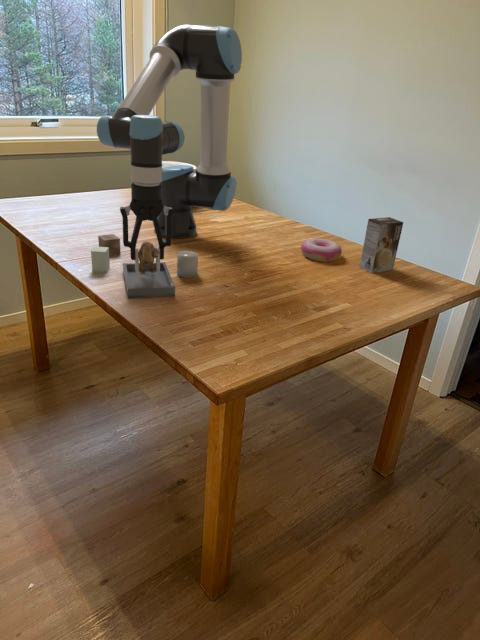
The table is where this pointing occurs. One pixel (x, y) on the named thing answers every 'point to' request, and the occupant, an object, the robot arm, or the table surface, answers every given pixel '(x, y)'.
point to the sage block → (100, 259)
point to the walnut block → (110, 243)
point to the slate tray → (148, 281)
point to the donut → (321, 250)
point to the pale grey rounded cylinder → (187, 264)
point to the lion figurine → (147, 256)
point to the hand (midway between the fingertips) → (147, 270)
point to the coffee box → (380, 244)
